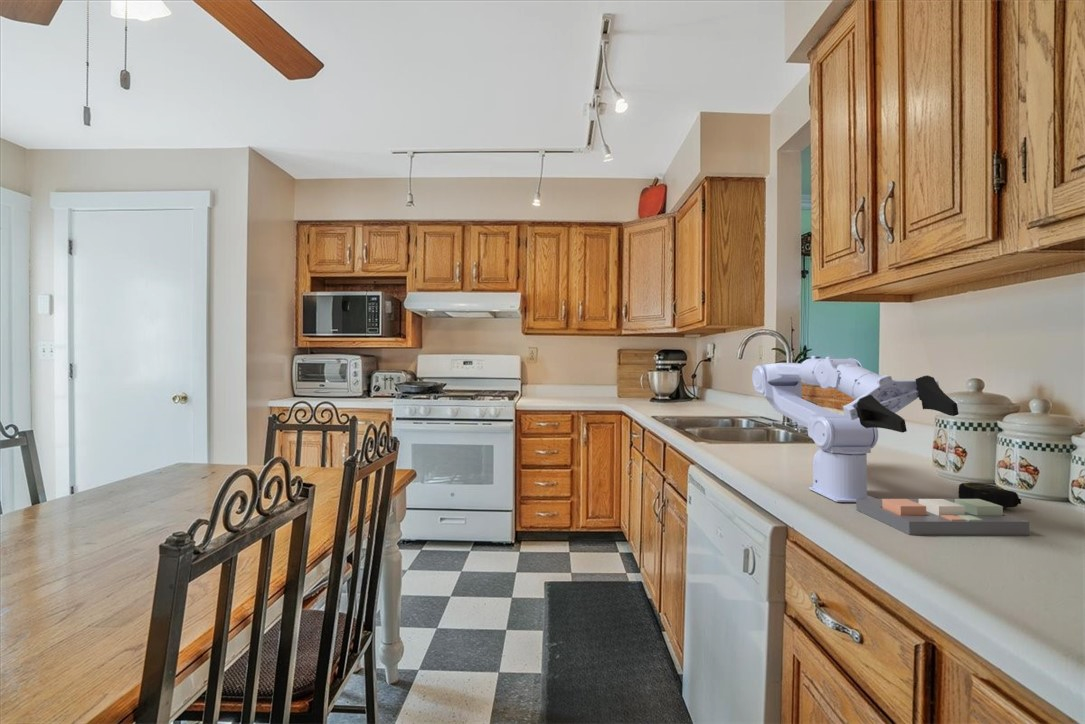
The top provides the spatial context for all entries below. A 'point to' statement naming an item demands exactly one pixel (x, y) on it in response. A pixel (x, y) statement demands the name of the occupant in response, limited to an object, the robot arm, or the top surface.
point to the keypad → (944, 521)
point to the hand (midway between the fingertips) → (929, 418)
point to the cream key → (942, 507)
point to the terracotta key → (904, 507)
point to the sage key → (980, 507)
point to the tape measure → (989, 494)
